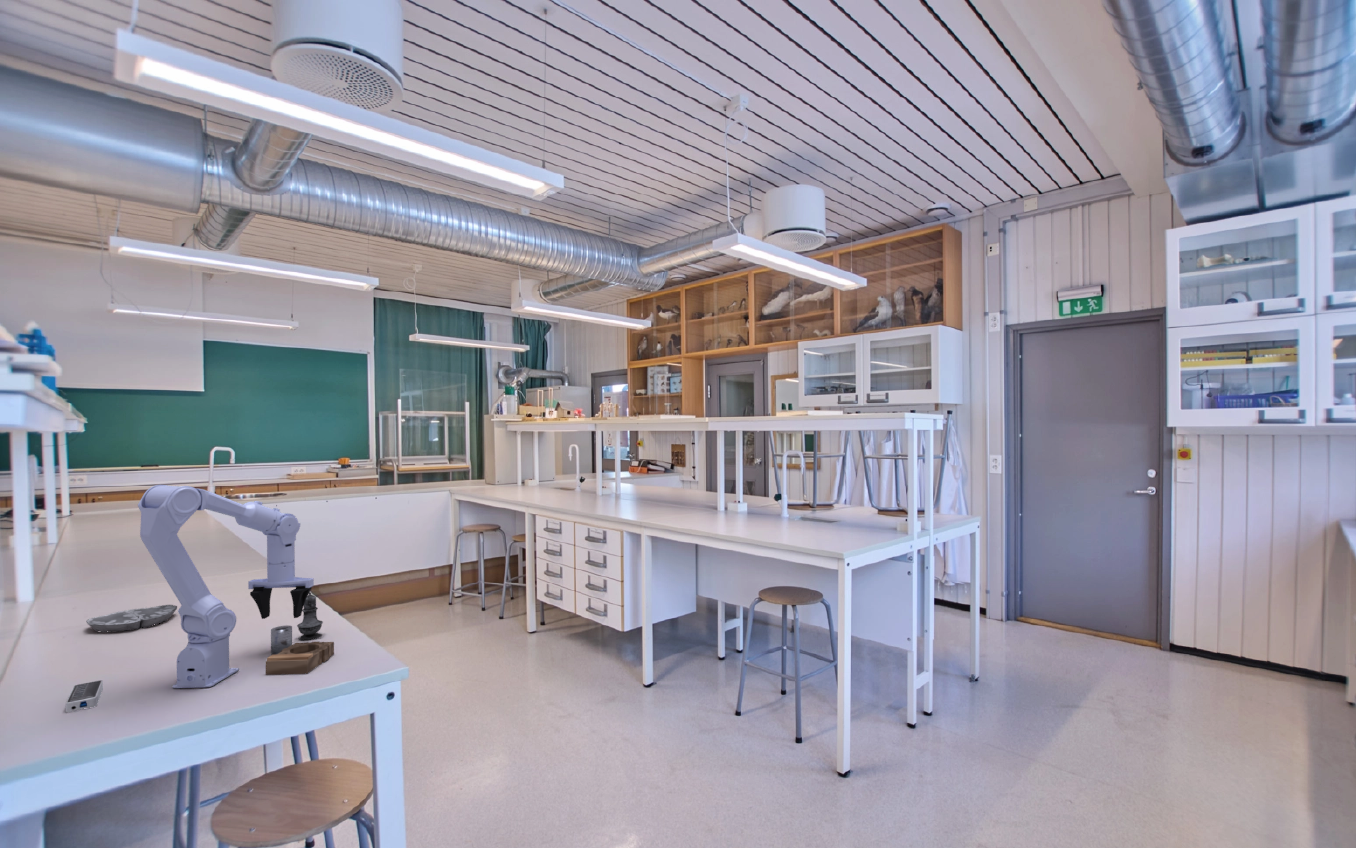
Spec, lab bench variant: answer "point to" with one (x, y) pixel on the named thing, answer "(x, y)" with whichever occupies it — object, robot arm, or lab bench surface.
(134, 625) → the brain slice
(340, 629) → the lab bench surface
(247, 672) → the lab bench surface
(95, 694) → the multiport hub
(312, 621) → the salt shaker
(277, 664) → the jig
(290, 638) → the bushing
